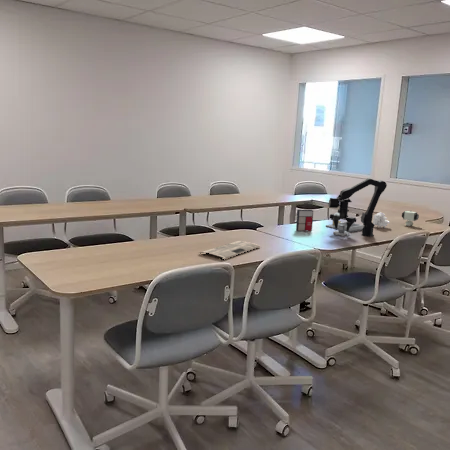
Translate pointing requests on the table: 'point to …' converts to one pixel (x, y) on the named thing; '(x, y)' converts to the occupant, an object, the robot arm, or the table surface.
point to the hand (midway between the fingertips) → (341, 230)
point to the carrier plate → (353, 227)
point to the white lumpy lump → (380, 220)
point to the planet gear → (341, 231)
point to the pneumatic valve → (410, 217)
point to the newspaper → (232, 249)
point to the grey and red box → (304, 220)
